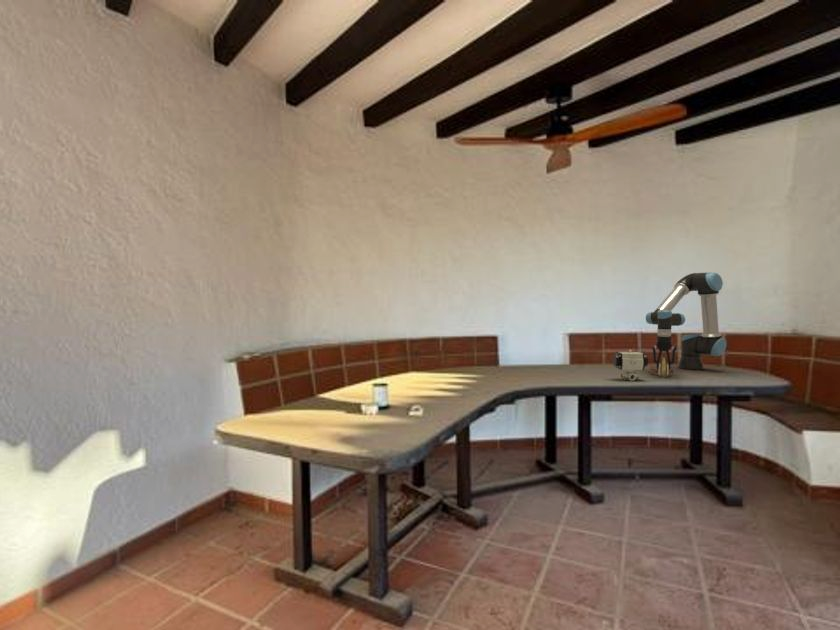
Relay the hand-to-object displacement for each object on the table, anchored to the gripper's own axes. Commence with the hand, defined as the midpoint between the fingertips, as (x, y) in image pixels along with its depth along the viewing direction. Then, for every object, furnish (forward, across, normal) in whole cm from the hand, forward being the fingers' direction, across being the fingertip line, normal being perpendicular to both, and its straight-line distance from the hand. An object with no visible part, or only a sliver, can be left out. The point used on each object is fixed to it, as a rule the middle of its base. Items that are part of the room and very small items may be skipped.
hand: (663, 374), depth 290 cm
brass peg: (+2, 0, 0) cm, 2 cm away
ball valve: (+2, -19, -16) cm, 25 cm away
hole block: (+2, 0, +14) cm, 15 cm away
